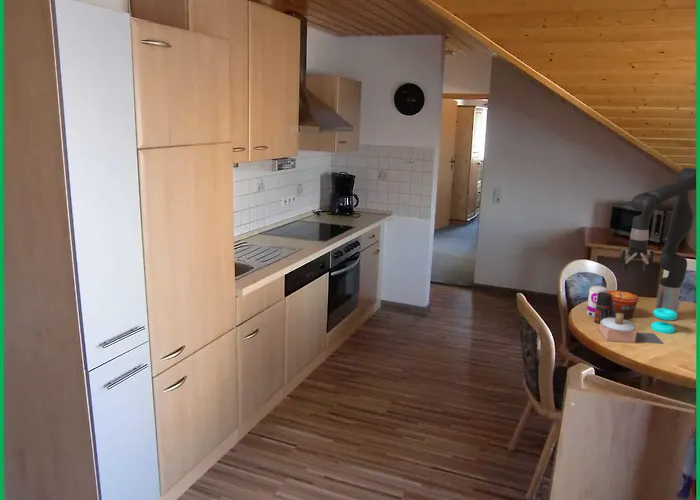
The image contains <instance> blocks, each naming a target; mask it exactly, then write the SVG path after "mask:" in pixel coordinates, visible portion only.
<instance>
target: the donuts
mask: <svg viewBox="0 0 700 500" xmlns="http://www.w3.org/2000/svg"><path fill="white" fill-rule="evenodd" d="M654 315H655V316H656V317H657V319H659V320H662V319H663V321H654V322H652V323H651V324H650V327H651V329H652V330H653V331H655V332H657V333H661V334H673V333H675V331H676V328H675V327H674V325H673V324H672V323H669V322H666V321H669V320H671V321H675V320H674V319H676V318H677V319H678V315H677V313H676V312H675V311H673V310H670V309H665V308H658V309H654V310H653V316H654ZM655 316H654V317H655ZM656 317H655V318H656Z"/></svg>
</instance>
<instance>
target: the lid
mask: <svg viewBox="0 0 700 500" xmlns="http://www.w3.org/2000/svg"><path fill="white" fill-rule="evenodd" d="M623 318H624V314H622V313H616V318H615V317H608V318H604V319H603V320H602V325H603V326H605V327H606V328H609V329H612V330H616V331H622V332H631V331H634V330H636V327H637V326H636V324H635V323H633V322H632V321H630V320H628V319H623Z"/></svg>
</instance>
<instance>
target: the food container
mask: <svg viewBox="0 0 700 500" xmlns="http://www.w3.org/2000/svg"><path fill="white" fill-rule="evenodd" d="M607 293H609V294H611V302H610V308H609V315H608V317H611V318H616V313H622V314H624V318H623V319H624V320H628V319H631V318H633V316H634V313H635V310H636V307H637V304H638V302H639V301H640V298H639V297H638V295H636V294H633V293H631V292H630V291H629V292H628V291H622V290H615V289H614V290H607Z"/></svg>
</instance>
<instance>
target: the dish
mask: <svg viewBox="0 0 700 500" xmlns="http://www.w3.org/2000/svg"><path fill="white" fill-rule="evenodd" d="M598 332H599V333H600V335H601V336H602V337H603V339H604V340H605V341H606V342H612V343H624V344H635V343H636V342H635V339H636V333H637V332H638V331H636V329H635V330H634V331H631V332H622V331H616V330H612V329H609V328H606V327H605V326H603V325H602V320H601V321H600V324H599V329H598Z"/></svg>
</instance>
